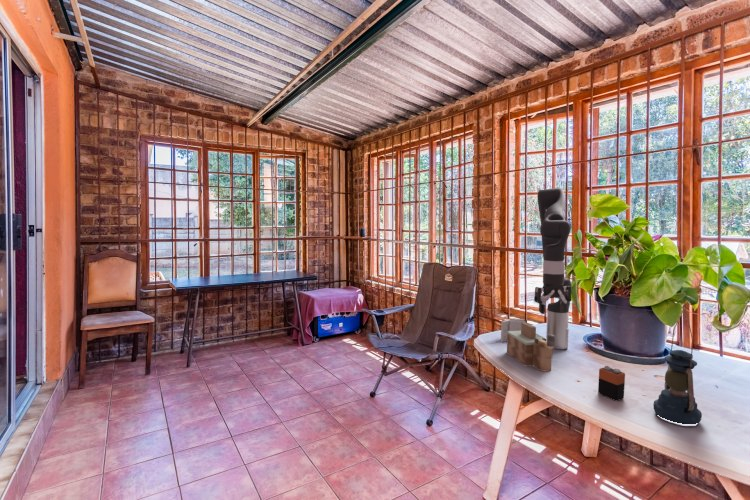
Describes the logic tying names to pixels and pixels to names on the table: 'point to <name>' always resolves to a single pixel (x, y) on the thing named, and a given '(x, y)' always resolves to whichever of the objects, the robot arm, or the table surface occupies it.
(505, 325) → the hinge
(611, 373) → the battery
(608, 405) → the table surface
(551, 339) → the bolt
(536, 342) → the toolbox
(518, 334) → the lid
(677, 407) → the lantern
